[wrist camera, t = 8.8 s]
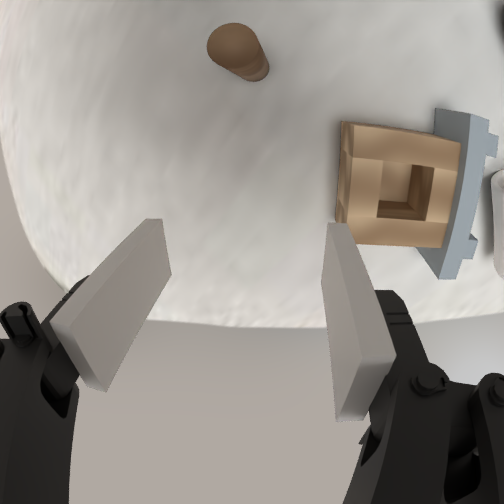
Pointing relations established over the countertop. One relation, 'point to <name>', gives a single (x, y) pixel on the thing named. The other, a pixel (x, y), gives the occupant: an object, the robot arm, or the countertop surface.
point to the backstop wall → (461, 189)
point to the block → (395, 185)
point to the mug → (498, 220)
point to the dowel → (238, 51)
